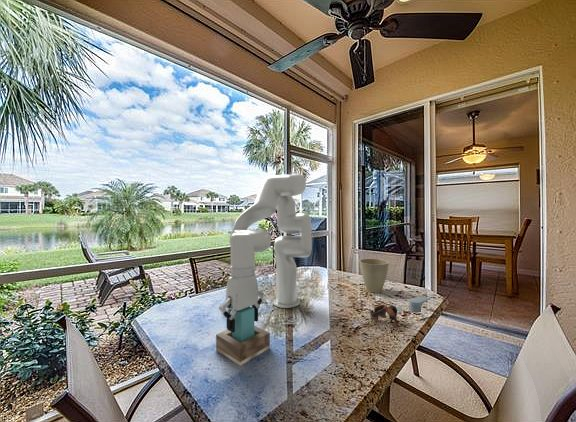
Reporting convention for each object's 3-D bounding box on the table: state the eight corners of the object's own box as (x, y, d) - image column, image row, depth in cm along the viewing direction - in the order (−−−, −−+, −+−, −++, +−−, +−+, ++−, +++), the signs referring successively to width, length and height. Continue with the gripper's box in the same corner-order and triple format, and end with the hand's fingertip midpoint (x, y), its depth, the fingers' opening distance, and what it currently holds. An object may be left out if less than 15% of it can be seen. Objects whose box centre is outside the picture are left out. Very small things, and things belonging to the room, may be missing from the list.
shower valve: (441, 301, 108) (419, 308, 101) (441, 314, 108) (419, 322, 101) (414, 292, 119) (392, 298, 112) (414, 304, 119) (392, 310, 112)
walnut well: (245, 335, 90) (245, 321, 90) (269, 348, 82) (269, 332, 82) (216, 350, 81) (216, 334, 81) (240, 365, 73) (240, 348, 73)
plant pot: (364, 284, 148) (364, 257, 147) (391, 289, 139) (391, 260, 139) (355, 291, 136) (355, 262, 135) (384, 297, 127) (384, 265, 126)
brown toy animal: (392, 334, 91) (380, 312, 93) (373, 335, 99) (362, 315, 100) (408, 317, 99) (397, 297, 100) (390, 319, 106) (379, 301, 108)
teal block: (244, 340, 85) (244, 304, 85) (254, 345, 81) (254, 308, 81) (232, 346, 81) (231, 308, 81) (242, 352, 78) (241, 313, 78)
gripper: (255, 264, 90) (255, 313, 90) (212, 275, 77) (212, 331, 77) (270, 268, 85) (270, 319, 85) (227, 279, 72) (227, 340, 72)
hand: (243, 325), depth 81 cm, fingers open, 9 cm apart
